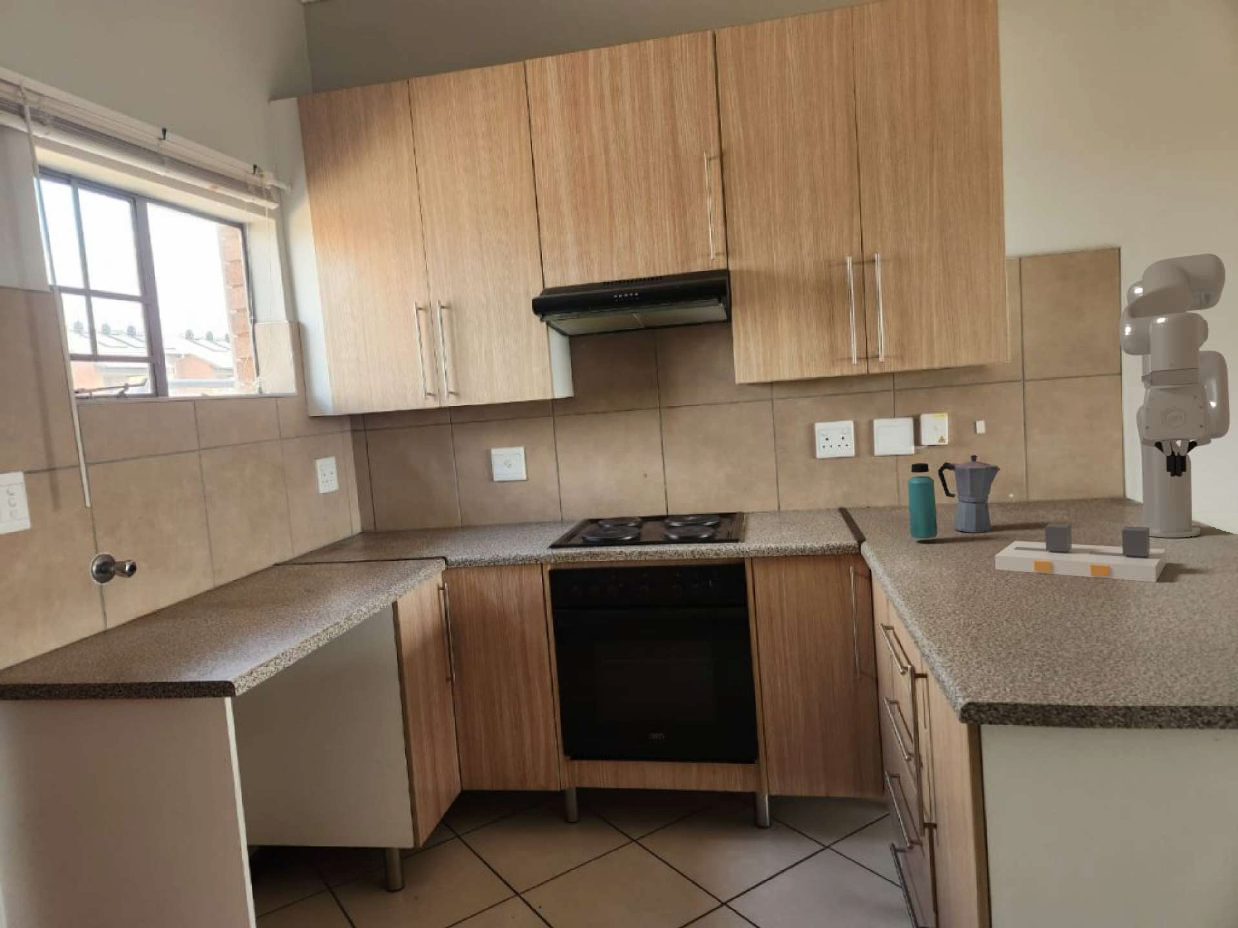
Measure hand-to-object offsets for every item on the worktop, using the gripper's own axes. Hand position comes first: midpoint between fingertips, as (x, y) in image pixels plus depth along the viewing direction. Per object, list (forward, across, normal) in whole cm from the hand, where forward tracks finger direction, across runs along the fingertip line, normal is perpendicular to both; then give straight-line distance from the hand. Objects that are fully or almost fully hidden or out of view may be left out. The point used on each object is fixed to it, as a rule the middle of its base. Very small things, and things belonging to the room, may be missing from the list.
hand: (1176, 475), depth 148 cm
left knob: (+16, -20, 0) cm, 26 cm away
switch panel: (+19, -17, 0) cm, 25 cm away
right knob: (+16, -7, 0) cm, 17 cm away
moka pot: (+19, -48, +33) cm, 61 cm away
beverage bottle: (+19, -54, +15) cm, 59 cm away
